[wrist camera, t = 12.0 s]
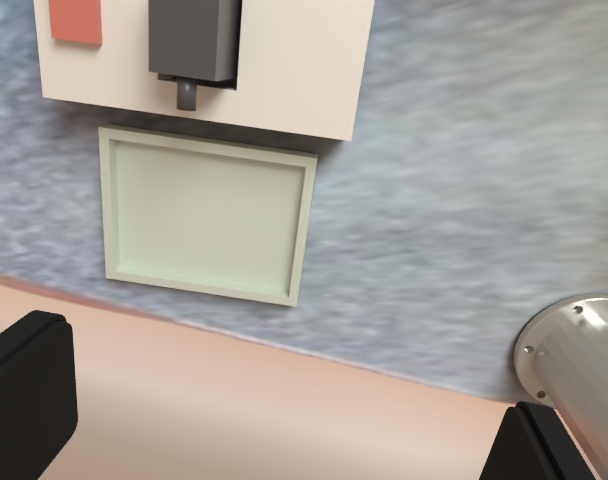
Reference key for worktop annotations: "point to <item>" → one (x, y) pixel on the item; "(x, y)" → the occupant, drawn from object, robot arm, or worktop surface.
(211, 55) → the plug
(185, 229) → the tray
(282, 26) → the power strip
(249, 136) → the worktop surface
